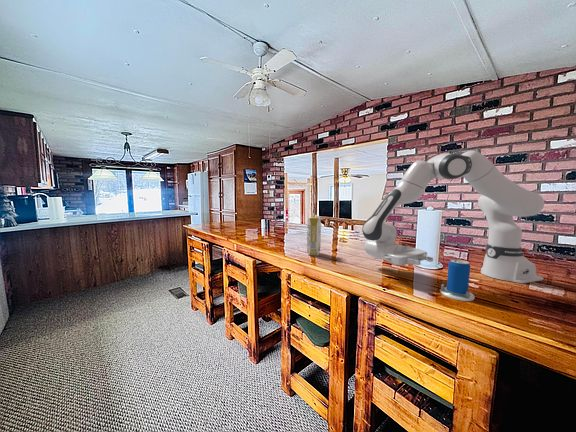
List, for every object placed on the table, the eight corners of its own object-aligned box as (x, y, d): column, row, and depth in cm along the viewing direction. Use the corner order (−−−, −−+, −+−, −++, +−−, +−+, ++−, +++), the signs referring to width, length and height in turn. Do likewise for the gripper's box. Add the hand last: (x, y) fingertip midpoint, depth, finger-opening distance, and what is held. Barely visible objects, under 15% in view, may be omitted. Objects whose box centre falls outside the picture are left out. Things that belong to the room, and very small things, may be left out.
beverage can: (459, 289, 91) (461, 258, 90) (472, 296, 85) (475, 264, 84) (442, 289, 91) (444, 258, 90) (454, 296, 85) (456, 263, 84)
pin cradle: (458, 288, 94) (458, 280, 94) (482, 300, 84) (482, 291, 83) (433, 289, 93) (434, 281, 92) (455, 301, 82) (455, 293, 82)
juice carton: (320, 256, 140) (320, 216, 138) (306, 255, 141) (307, 215, 139) (320, 252, 149) (321, 214, 147) (307, 251, 150) (308, 214, 148)
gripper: (381, 249, 103) (411, 257, 92) (409, 244, 114) (439, 251, 102) (380, 263, 104) (410, 273, 92) (408, 257, 115) (438, 265, 103)
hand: (426, 261), depth 97 cm, fingers open, 8 cm apart
